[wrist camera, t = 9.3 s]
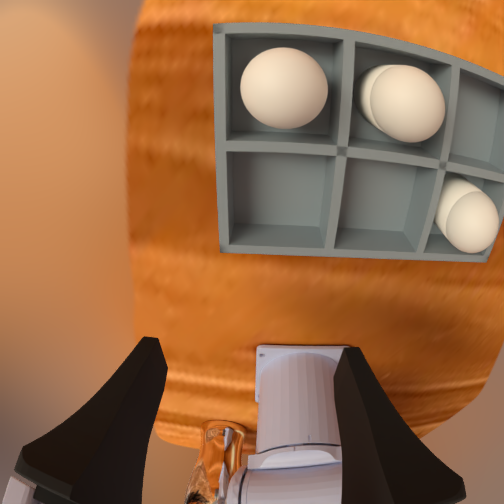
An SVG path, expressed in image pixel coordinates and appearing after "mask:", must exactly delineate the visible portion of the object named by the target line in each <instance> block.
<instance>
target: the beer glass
mask: <svg viewBox="0 0 504 504" xmlns="http://www.w3.org/2000/svg"><path fill="white" fill-rule="evenodd" d="M200 431H201V447H200V452H199V456H198V459H197V462H196V464H195V467H194V470H193V472H192V475H191V477H190V480H189V483H188V487H187V490H186V495H185V501H184V504H227V491H228V486H229V483H230V480H231V478H232V476H233V475H234V474H235V473H236V472H237V470H238V469H239V468H240V467H241V466H242V460H241V459H242V448H243V444H244V441H245V438H246V434H247V430H246V429H245V428H244V427H243V426H241V425H239V424H237V423H234V422H230V421H224V420H210V421H206V422H204V423H202V424H201V428H200Z"/></svg>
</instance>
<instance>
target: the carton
mask: <svg viewBox="0 0 504 504" xmlns="http://www.w3.org/2000/svg"><path fill="white" fill-rule="evenodd" d="M283 47H285V48H293V49H297V50H299V51H302V52H304V53H306V54H308V55H309V56H311V57H312V58H313V59H314V60H315V61H316V62H317V63H318V64H319V65H320V67H321V68H322V70H323V72H324V74H325V76H326V79H327V85H328V94H327V99H326V102H325V105H324V107H323V109H322V110H321V112H320V113H319V114H318V115H317V116H316V117H315V118H314V119H313V120H312V121H310V122H309V123H307V124H305V125H303V126H300V127H297V128H292V129H278V128H273V127H270V126H267V125H265V124H263V123H261V122H260V121H258V120H257V119H256V118H255V117H253V116H252V115H251V113H250V112H249V111H248V110H247V108H246V106H245V104H244V102H243V100H242V96H241V89H240V85H241V78H242V75H243V72H244V70H245V68H246V67H247V65H248V64H249V62H250V61H251V60H252V59H253V58H255V57H256V56H257V55H259V54H260V53H262V52H264V51H267V50H270V49H273V48H283ZM376 65H408V66H413V67H416V68H418V69H420V70H422V71H424V72H425V73H427V74H428V75H429V76H430V77H432V78H433V80H434V81H435V82H436V83H437V85H438V86H439V88H440V90H441V92H442V94H443V97H444V101H445V116H444V120H443V122H442V125H441V126H440V128H439V129H438V131H437V132H436V133H435V134H434V135H432V136H431V137H430V138H428V139H426V140H423V141H420V142H403V141H399V140H397V139H394V138H392V137H390V136H389V135H387V134H386V133H384V132H382V131H381V130H379V129H378V128H376V127H374V126H373V125H371V124H370V123H368V122H367V121H366V120H365V119H364V118H363V117H362V116H361V114H360V113H359V111H358V109H357V107H356V104H355V100H354V89H355V85H356V82H357V80H358V78H359V76H360V75H361V74H362V73H363V72H364V71H365V70H367V69H368V68H370V67H372V66H376ZM213 76H214V124H215V156H216V182H217V204H218V223H219V242H220V253H246V254H272V255H298V256H324V257H351V258H378V259H405V260H433V261H461V262H487V260H488V257H489V255H490V252H491V250H492V247H493V245H494V242H495V239H496V237H497V235H496V237H495V239H494V241H493V242H492V243H491V245H490V246H489V247H487V248H486V249H484V250H483V251H480V252H477V253H466V252H463V251H461V250H459V249H457V248H456V247H454V246H453V245H452V244H451V243H450V242H449V240H448V239H447V238H446V237H445V235H444V234H443V233H442V232H441V230H440V229H439V228H438V227H437V226H436V224H435V223H434V222H433V220H434V216H435V213H436V209H437V205H438V201H439V197H440V193H441V189H442V185H443V181H444V176H445V174H448V173H457V174H460V175H462V176H463V177H464V178H466V179H467V180H468V181H470V182H471V183H472V184H474V185H475V186H476V187H477V188H479V189H480V190H481V191H482V192H484V193H485V194H486V195H487V196H488V197H489V198H490V199H491V200H492V201H493V203H494V204H495V207H496V209H497V212H498V216H499V228H500V226H501V223H502V220H503V217H504V77H503V76H501V75H499V74H497V73H494V72H492V71H490V70H488V69H485V68H483V67H481V66H478V65H476V64H473V63H471V62H468V61H466V60H463V59H460V58H457V57H455V56H452V55H449V54H446V53H443V52H440V51H437V50H434V49H431V48H427V47H424V46H420V45H417V44H413V43H410V42H406V41H402V40H398V39H394V38H389V37H385V36H380V35H375V34H370V33H365V32H359V31H353V30H347V29H340V28H333V27H324V26H315V25H304V24H289V23H220V24H213ZM499 228H498V231H499ZM497 234H498V232H497Z"/></svg>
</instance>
